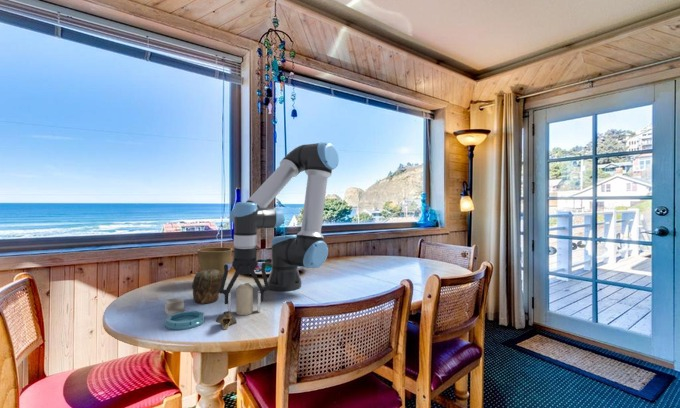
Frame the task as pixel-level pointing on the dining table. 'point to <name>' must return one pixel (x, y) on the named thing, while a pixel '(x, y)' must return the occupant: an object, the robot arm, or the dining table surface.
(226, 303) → the robot arm
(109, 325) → the dining table surface
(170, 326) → the candle dish
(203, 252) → the plant pot
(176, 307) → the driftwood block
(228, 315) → the shark head
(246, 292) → the candle
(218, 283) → the brown rough lump
